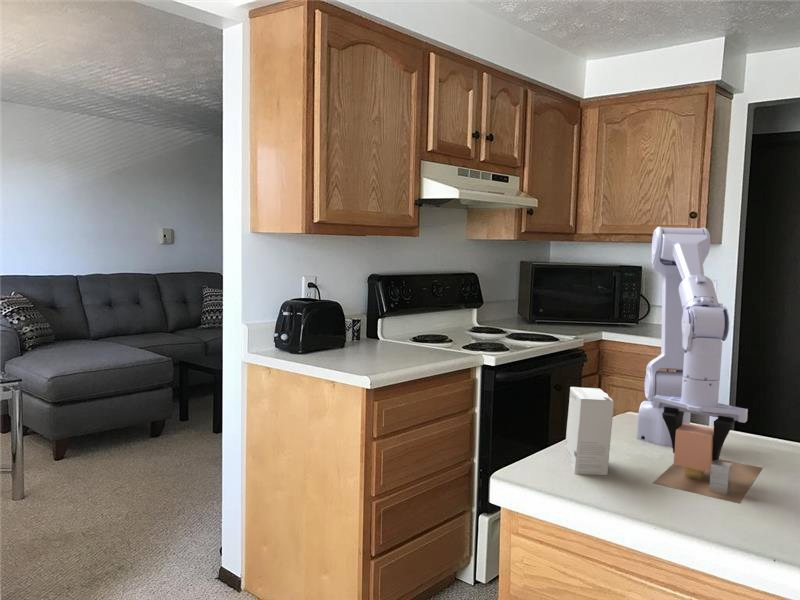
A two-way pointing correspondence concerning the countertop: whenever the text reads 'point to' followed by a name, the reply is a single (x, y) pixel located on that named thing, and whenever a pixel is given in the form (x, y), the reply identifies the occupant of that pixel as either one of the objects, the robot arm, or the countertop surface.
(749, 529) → the countertop surface
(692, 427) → the salmon pink cube
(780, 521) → the countertop surface
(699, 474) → the butter yellow cube
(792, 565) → the countertop surface
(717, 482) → the white sugar cube
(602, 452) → the skincare box
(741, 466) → the board
